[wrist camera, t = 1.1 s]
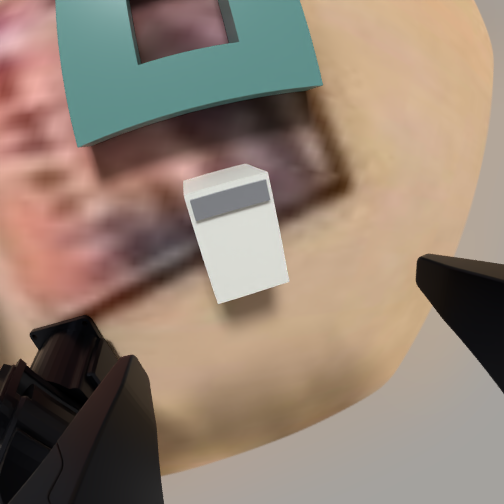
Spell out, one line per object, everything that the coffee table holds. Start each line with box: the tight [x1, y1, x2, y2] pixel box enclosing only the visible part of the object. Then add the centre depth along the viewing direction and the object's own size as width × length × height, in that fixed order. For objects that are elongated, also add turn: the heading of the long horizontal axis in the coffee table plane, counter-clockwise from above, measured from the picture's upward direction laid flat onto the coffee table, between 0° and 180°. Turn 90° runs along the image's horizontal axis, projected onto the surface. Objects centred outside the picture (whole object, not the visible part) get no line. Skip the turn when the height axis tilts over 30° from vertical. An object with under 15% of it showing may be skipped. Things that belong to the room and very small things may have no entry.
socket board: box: [56, 0, 323, 147], centre depth 12 cm, size 14×14×2 cm
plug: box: [183, 164, 289, 304], centre depth 16 cm, size 4×6×5 cm, turn 13°
